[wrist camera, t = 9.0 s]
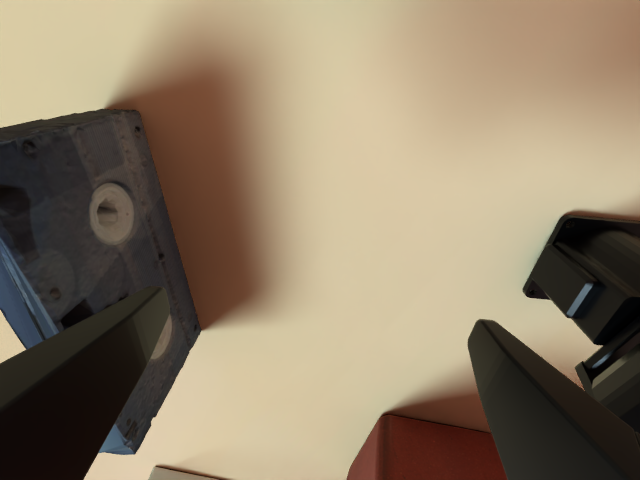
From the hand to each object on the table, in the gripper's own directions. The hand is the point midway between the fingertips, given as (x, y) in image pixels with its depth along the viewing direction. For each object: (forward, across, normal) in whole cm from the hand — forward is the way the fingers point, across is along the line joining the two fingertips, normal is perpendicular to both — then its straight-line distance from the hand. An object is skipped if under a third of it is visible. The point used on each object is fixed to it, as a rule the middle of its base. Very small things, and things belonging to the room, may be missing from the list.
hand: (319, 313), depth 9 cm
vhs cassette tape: (+12, +12, +6) cm, 18 cm away
